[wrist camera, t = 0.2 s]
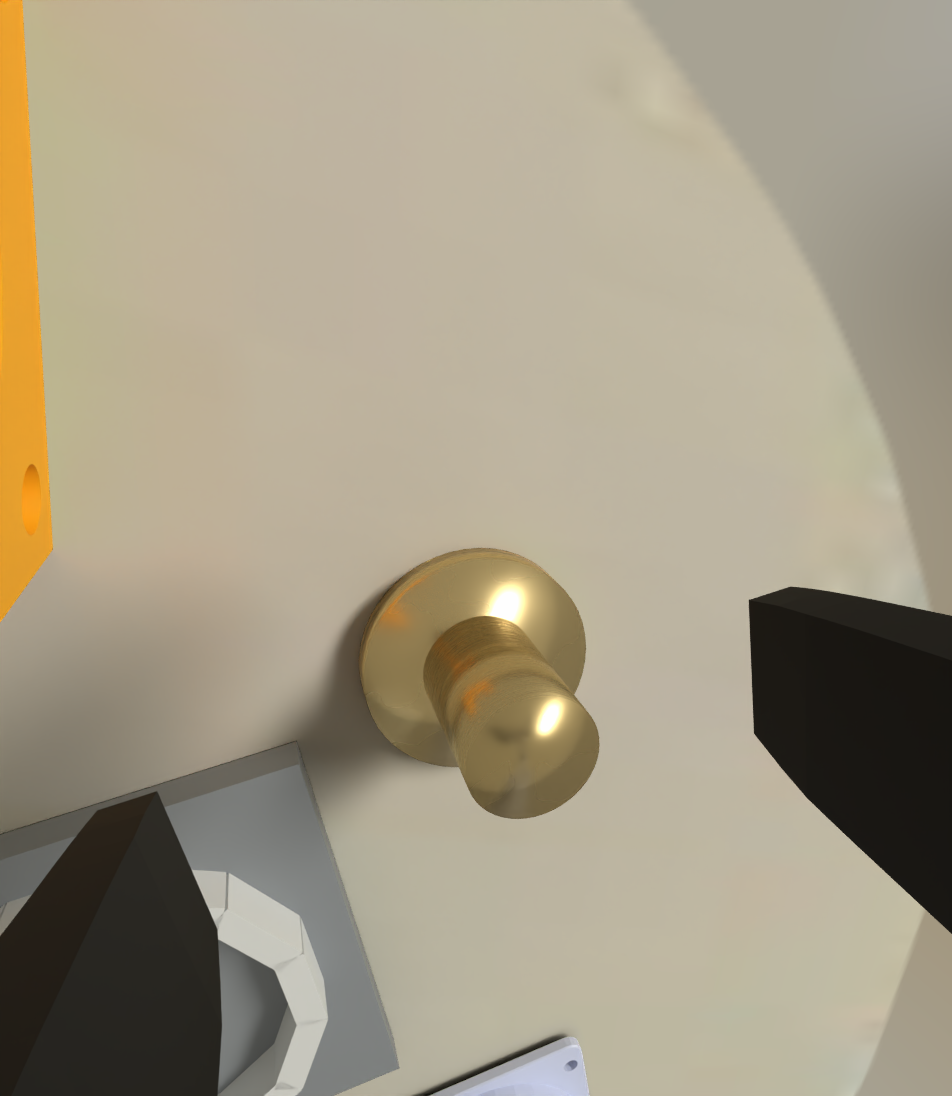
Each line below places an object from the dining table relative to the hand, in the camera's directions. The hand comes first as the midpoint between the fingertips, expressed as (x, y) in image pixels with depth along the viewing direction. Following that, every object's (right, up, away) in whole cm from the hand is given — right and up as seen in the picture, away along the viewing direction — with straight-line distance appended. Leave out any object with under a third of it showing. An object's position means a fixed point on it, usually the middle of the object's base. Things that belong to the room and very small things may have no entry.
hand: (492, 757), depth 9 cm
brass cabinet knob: (0, 0, +11) cm, 11 cm away
